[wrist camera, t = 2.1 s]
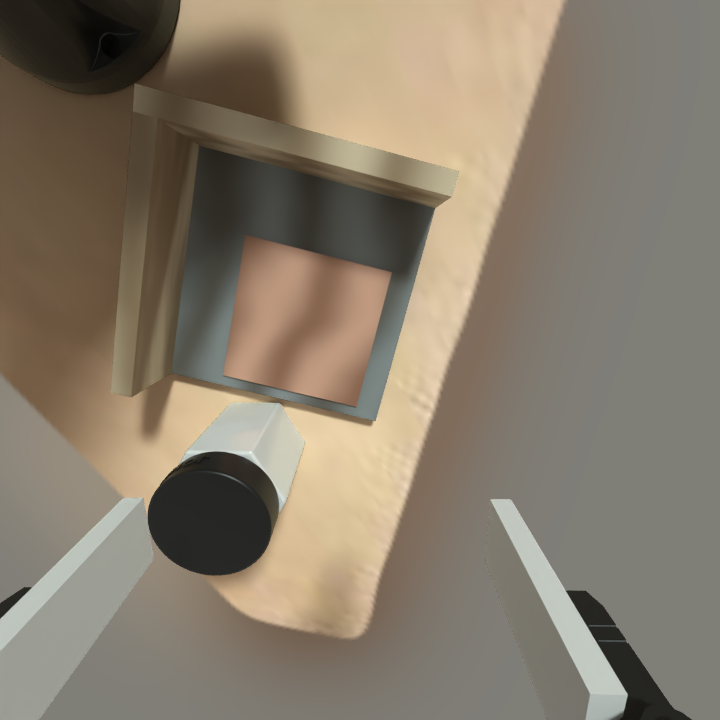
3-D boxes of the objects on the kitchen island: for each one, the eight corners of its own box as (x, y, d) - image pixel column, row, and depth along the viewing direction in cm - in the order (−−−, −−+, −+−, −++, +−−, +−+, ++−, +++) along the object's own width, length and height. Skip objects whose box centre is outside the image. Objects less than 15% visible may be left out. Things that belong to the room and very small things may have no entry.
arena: (160, 365, 35) (110, 392, 28) (187, 122, 29) (134, 83, 23) (375, 416, 36) (377, 454, 29) (438, 190, 30) (459, 171, 24)
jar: (240, 380, 35) (177, 442, 23) (318, 422, 36) (295, 502, 24) (200, 456, 37) (124, 548, 25) (275, 494, 38) (235, 599, 26)
